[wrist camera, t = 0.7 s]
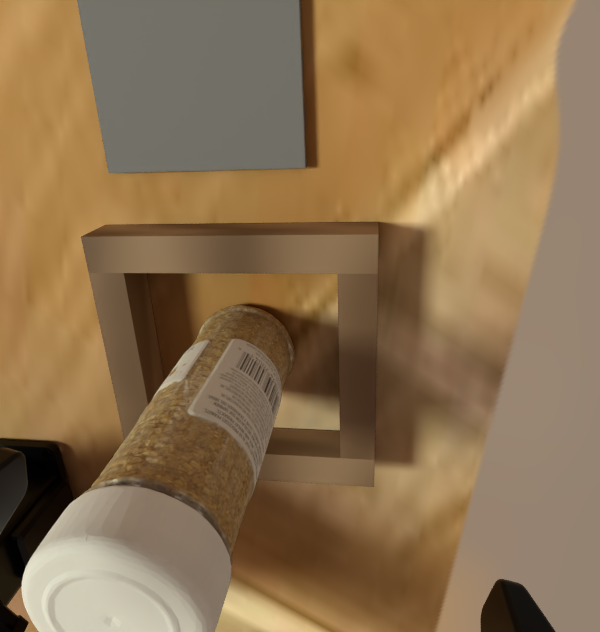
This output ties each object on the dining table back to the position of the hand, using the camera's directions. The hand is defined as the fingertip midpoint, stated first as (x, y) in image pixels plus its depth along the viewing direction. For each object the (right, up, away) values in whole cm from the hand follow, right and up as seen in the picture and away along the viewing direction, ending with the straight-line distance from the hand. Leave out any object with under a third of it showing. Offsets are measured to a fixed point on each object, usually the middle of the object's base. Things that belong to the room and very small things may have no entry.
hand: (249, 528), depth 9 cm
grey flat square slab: (-3, +13, +10) cm, 17 cm away
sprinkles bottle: (-1, +2, +14) cm, 15 cm away
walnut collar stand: (-1, +2, +14) cm, 14 cm away
